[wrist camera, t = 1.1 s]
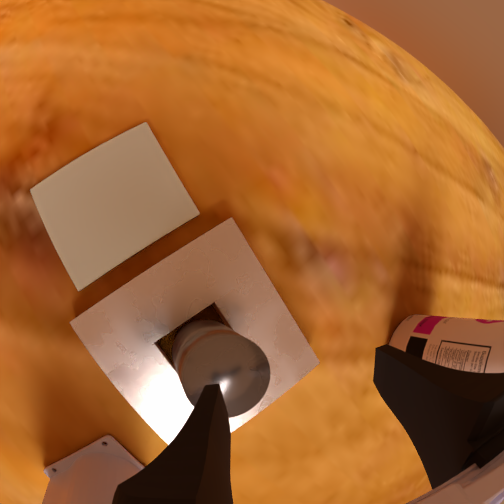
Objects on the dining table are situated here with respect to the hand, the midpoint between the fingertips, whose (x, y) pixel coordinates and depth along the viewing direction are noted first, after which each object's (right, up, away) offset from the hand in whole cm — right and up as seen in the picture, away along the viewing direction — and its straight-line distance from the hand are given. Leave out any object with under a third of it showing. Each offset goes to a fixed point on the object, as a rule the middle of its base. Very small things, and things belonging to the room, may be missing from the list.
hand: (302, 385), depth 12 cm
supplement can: (+16, -6, +18) cm, 25 cm away
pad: (-13, +10, +8) cm, 18 cm away
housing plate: (-6, -1, +10) cm, 12 cm away
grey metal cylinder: (-6, -1, +10) cm, 12 cm away
